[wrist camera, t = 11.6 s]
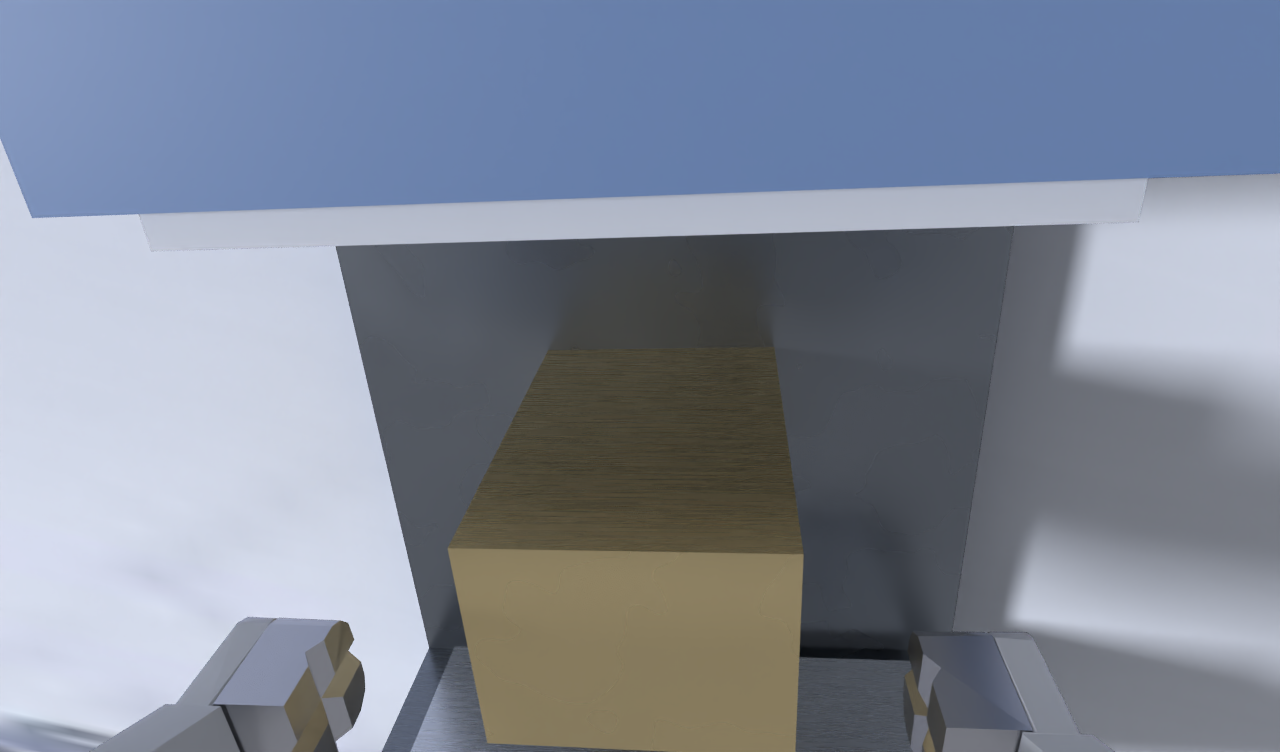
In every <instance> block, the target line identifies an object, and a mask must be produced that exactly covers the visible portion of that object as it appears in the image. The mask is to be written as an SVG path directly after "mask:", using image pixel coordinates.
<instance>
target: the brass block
mask: <svg viewBox="0 0 1280 752" xmlns="http://www.w3.org/2000/svg"><path fill="white" fill-rule="evenodd" d="M448 553H449V558H450V563H451V568H452V572H453V577H454V582H455V587H456V592H457V597H458V602H459V607H460V612H461V616H462V621H463V626H464V631H465V636H466V641H467V646H468V651H469V656H470V660H471V665H472V670H473V675H474V680H475V685H476V690H477V695H478V700H479V705H480V709H481V714H482V719H483V724H484V729H485V734H486V739H487V743H494V744H516V745H537V746H559V747H580V748H602V749H623V750H644V751H666V752H795V747H796V724H797V700H798V676H799V652H800V628H801V605H802V581H803V557H804V554H803V546H802V539H801V532H800V525H799V518H798V511H797V504H796V497H795V490H794V483H793V476H792V469H791V461H790V454H789V447H788V440H787V433H786V426H785V419H784V412H783V405H782V398H781V391H780V384H779V376H778V369H777V362H776V355H775V348H774V347H753V348H675V349H598V350H548V351H547V353H546V355H545V357H544V359H543V361H542V363H541V365H540V367H539V369H538V371H537V373H536V375H535V377H534V379H533V381H532V383H531V385H530V387H529V389H528V391H527V393H526V395H525V397H524V399H523V401H522V403H521V405H520V407H519V408H518V410H517V412H516V414H515V416H514V418H513V420H512V422H511V424H510V426H509V428H508V430H507V432H506V434H505V436H504V438H503V440H502V442H501V444H500V446H499V448H498V450H497V452H496V454H495V456H494V458H493V460H492V462H491V464H490V466H489V468H488V470H487V472H486V474H485V475H484V477H483V479H482V481H481V483H480V485H479V487H478V489H477V491H476V493H475V495H474V497H473V499H472V501H471V503H470V505H469V507H468V509H467V511H466V513H465V515H464V517H463V519H462V521H461V523H460V525H459V527H458V529H457V531H456V533H455V535H454V537H453V539H452V540H451V542H450V544H449V546H448Z"/></svg>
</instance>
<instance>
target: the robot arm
mask: <svg viewBox="0 0 1280 752" xmlns="http://www.w3.org/2000/svg"><path fill="white" fill-rule="evenodd" d="M353 641H354V638H353V635H352V632H351V630H350V627H349V624H348V623H346V622H343V621H339V620H318V619H296V618H260V617H247V618H245V619H244V620H242V621H240V622H238V623H237V624H236V625H235V627H234V628H233V629H232V631H231V632H230V633H229V635H228V636H227V637H226V639H225V640H224V641H223V643H222V644H221V645H220V646H219V648H218V649H217V650H216V652H215V653H214V654H213V656H212V657H211V658H210V660H209V661H208V662H207V664H206V665H205V666H204V667H203V669H202V670H201V671H200V673H199V674H198V675H197V677H196V678H195V679H194V681H193V682H192V683H191V685H190V686H189V687H188V689H187V690H186V691H185V692H184V694H183V695H182V696H181V698H180V699H179V700H178V702H177V703H176V704H165V705H164V706H162V707H160V708H159V709H157V710H156V711H154V712H152V713H151V714H149V715H148V716H146V717H144V718H143V719H141V720H139V721H138V722H136V723H135V724H133V725H131V726H130V727H128V728H127V729H125V730H123V731H122V732H120V733H119V734H117V735H115V736H114V737H112V738H111V739H109V740H107V741H106V742H104V743H102V744H101V745H99V746H98V747H96V748H94V749H93V750H91V751H90V752H338V748H337V744H336V740H338V739H339V738H340V737H342V736H343V735H344V734H345V733H347V732H348V731H349V730H351V729H352V728H353V726H354V724H355V722H356V719H357V717H358V715H359V713H360V711H361V707H362V702H363V697H364V692H365V677H364V671H363V668H362V664H361V662H360V661H359V660H358V659H357V658H356V657H355V656H354V655H352V654H351V653H350V652H349V651H348V650H349V648H350V646H351V644H352V643H353ZM907 652H908V656H909V660H910V663H911V667H912V670H910V671H909V672H908V673H907V674H906V675H905V676H904V686H903V711H904V720H905V726H906V732H907V736H908V740H909V744H910V748H911V749H912V750H913V751H914V752H1114V751H1113V750H1112V749H1111V748H1109V747H1108V746H1107V745H1105V744H1104V743H1103V742H1102V741H1100V740H1099V739H1098V738H1096V737H1095V736H1094V735H1087V734H1080V732H1079V730H1078V728H1077V726H1076V724H1075V722H1074V720H1073V718H1072V715H1071V713H1070V711H1069V709H1068V707H1067V705H1066V703H1065V701H1064V699H1063V697H1062V695H1061V693H1060V691H1059V689H1058V687H1057V685H1056V683H1055V681H1054V679H1053V677H1052V675H1051V673H1050V671H1049V669H1048V667H1047V665H1046V663H1045V661H1044V659H1043V657H1042V655H1041V653H1040V651H1039V649H1038V647H1037V645H1036V643H1035V641H1034V639H1033V637H1031V636H1030V635H1029V634H1028V633H1027V632H988V633H985V632H929V631H912V633H911V636H910V638H909V644H908V651H907Z"/></svg>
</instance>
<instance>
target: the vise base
mask: <svg viewBox="0 0 1280 752" xmlns="http://www.w3.org/2000/svg"><path fill="white" fill-rule="evenodd" d="M1013 230H1014V226H994V227H961V228H927V229H893V230H859V231H825V232H792V233H758V234H724V235H690V236H657V237H623V238H589V239H555V240H521V241H488V242H454V243H420V244H386V245H352V246H336V250H337V254H338V259H339V263H340V267H341V271H342V276H343V280H344V284H345V289H346V293H347V297H348V301H349V306H350V310H351V314H352V319H353V323H354V327H355V331H356V336H357V340H358V344H359V349H360V353H361V357H362V361H363V366H364V370H365V374H366V379H367V383H368V387H369V391H370V396H371V400H372V404H373V409H374V413H375V417H376V421H377V426H378V430H379V434H380V439H381V443H382V447H383V451H384V456H385V460H386V464H387V469H388V473H389V477H390V481H391V486H392V490H393V494H394V499H395V503H396V507H397V511H398V516H399V520H400V524H401V529H402V533H403V537H404V541H405V546H406V550H407V554H408V559H409V563H410V567H411V571H412V576H413V580H414V584H415V589H416V593H417V597H418V601H419V606H420V610H421V614H422V619H423V623H424V627H425V631H426V636H427V640H428V644H429V650H428V652H427V654H426V656H425V658H424V661H423V663H422V665H421V667H420V669H419V672H418V674H417V676H416V678H415V680H414V683H413V685H412V687H411V689H410V691H409V693H408V696H407V698H406V700H405V702H404V704H403V707H402V709H401V711H400V713H399V715H398V718H397V720H396V722H395V724H394V726H393V728H392V731H391V733H390V735H389V737H388V739H387V742H386V744H385V746H384V748H383V750H382V752H666V751H644V750H623V749H602V748H580V747H559V746H537V745H516V744H494V743H487V739H486V734H485V729H484V724H483V719H482V714H481V709H480V705H479V700H478V695H477V690H476V685H475V680H474V675H473V670H472V665H471V660H470V656H469V651H468V646H467V641H466V636H465V631H464V626H463V621H462V616H461V612H460V607H459V602H458V597H457V592H456V587H455V582H454V577H453V572H452V568H451V563H450V558H449V553H448V546H449V544H450V542H451V540H452V539H453V537H454V535H455V533H456V531H457V529H458V527H459V525H460V523H461V521H462V519H463V517H464V515H465V513H466V511H467V509H468V507H469V505H470V503H471V501H472V499H473V497H474V495H475V493H476V491H477V489H478V487H479V485H480V483H481V481H482V479H483V477H484V475H485V474H486V472H487V470H488V468H489V466H490V464H491V462H492V460H493V458H494V456H495V454H496V452H497V450H498V448H499V446H500V444H501V442H502V440H503V438H504V436H505V434H506V432H507V430H508V428H509V426H510V424H511V422H512V420H513V418H514V416H515V414H516V412H517V410H518V408H519V407H520V405H521V403H522V401H523V399H524V397H525V395H526V393H527V391H528V389H529V387H530V385H531V383H532V381H533V379H534V377H535V375H536V373H537V371H538V369H539V367H540V365H541V363H542V361H543V359H544V357H545V355H546V353H547V351H548V350H598V349H675V348H753V347H774V348H775V355H776V362H777V369H778V376H779V384H780V391H781V398H782V405H783V412H784V419H785V426H786V433H787V440H788V447H789V454H790V461H791V469H792V476H793V483H794V490H795V497H796V504H797V511H798V518H799V525H800V532H801V539H802V546H803V554H804V557H803V581H802V605H801V628H800V652H799V676H798V700H797V724H796V747H795V752H914V751H913V750H912V749H911V748H910V744H909V740H908V736H907V732H906V726H905V720H904V711H903V686H904V676H905V675H906V674H907V673H908V672H909V671H910V670H912V667H911V663H910V660H909V656H908V652H907V651H908V644H909V638H910V636H911V633H912V631H929V632H952V628H953V622H954V615H955V609H956V602H957V596H958V589H959V582H960V576H961V569H962V563H963V556H964V550H965V543H966V537H967V530H968V524H969V517H970V511H971V504H972V498H973V491H974V485H975V478H976V471H977V465H978V458H979V452H980V445H981V439H982V432H983V426H984V419H985V413H986V406H987V400H988V393H989V387H990V380H991V374H992V367H993V360H994V354H995V347H996V341H997V334H998V328H999V321H1000V315H1001V308H1002V302H1003V295H1004V289H1005V282H1006V276H1007V269H1008V263H1009V256H1010V249H1011V243H1012V236H1013Z"/></svg>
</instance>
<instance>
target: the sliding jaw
mask: <svg viewBox="0 0 1280 752" xmlns="http://www.w3.org/2000/svg"><path fill="white" fill-rule="evenodd" d="M0 139H1V141H2V144H3V146H4V149H5V151H6V154H7V156H8V159H9V161H10V164H11V166H12V169H13V171H14V174H15V176H16V179H17V181H18V184H19V186H20V189H21V191H22V194H23V196H24V199H25V201H26V204H27V206H28V209H29V211H30V214H31V216H32V218H43V217H71V216H99V215H127V214H139V217H140V220H141V223H142V226H143V229H144V232H145V235H146V238H147V241H148V244H149V247H150V250H151V251H184V250H217V249H251V248H285V247H319V246H352V245H386V244H420V243H454V242H488V241H521V240H555V239H589V238H623V237H657V236H690V235H724V234H758V233H792V232H825V231H859V230H893V229H927V228H961V227H994V226H1028V225H1062V224H1096V223H1130V222H1139V218H1140V213H1141V209H1142V204H1143V200H1144V195H1145V191H1146V186H1147V182H1148V178H1165V177H1193V176H1221V175H1249V174H1277V173H1280V0H0Z"/></svg>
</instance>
